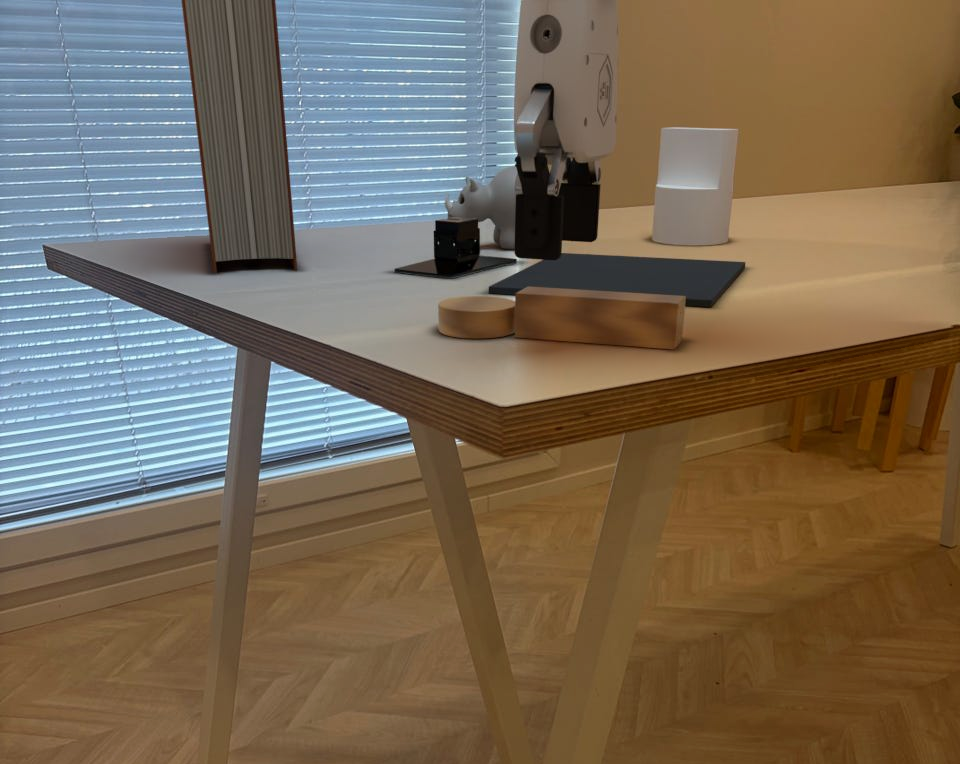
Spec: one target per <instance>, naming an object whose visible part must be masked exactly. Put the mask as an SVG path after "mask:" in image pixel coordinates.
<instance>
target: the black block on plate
mask: <svg viewBox="0 0 960 764" xmlns="http://www.w3.org/2000/svg"><path fill="white" fill-rule="evenodd" d="M517 260H518V259H517V258H511V257H504V256H503V257H501V256H492V255H481V229H480V227H479V222H478V219H474V218H461V217H453V218H448V217H447V218H442V219H436V220H434V230H433V258H432V259H428V260H424V261H419V262H415V263H411V264H408V265H407V264H406V265H404V266H399V267H396V268H394V273H399V274H407V275H416V276H424V277H432V278H433V277H435V278H442V279H454V278H459V277H463V276H467V275H471V274H476V273H479V272H483V271H488V270H491V269H494V268H500V267H502V266H510V265H515V264H517V263H518V261H517Z"/></svg>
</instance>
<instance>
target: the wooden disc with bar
mask: <svg viewBox="0 0 960 764" xmlns="http://www.w3.org/2000/svg"><path fill="white" fill-rule="evenodd" d="M514 296H515V297H514V299H515V300H512V299H509V298H504V297H500V296H499V297H498V296H487V295H485V296H484V295H480V296H479V295H474V296H473V295H471V296H469V295H468V296H458V297H452V298H451V297H450V298H446V299H443V300H441V301H439V302H438V303H437V307H438V308H437V311H438V313H437V314H438V315H437V317H438V331H439V333H440V334H443V335H444V336H448V337H452V338H457V339H459V338H460V339H473V340H474V339H476V340H477V339H479V340H480V339H481V340H482V339H496V338H503V337H507V336H510V335H513V334H514V338H517V339H531V340H545V341H557V342H571V343H582V344H583V343H584V344H595V345H608V346H609V345H610V346H621V347H633V348H634V347H635V348H648V349H659V350H660V349H662V350H673V351H674V350H676V348H677V347H678V346H679V345H680V344H681V342H682V341H683V334H684V322H685V312H686V306H685V301H686V296H677V295H661V294H644V293H628V292H611V291H595V290H578V289H562V288H545V287H529V286H528V287H526V288H524V289H522V290H521V291H519V292H517V293H516V294H515V295H514Z"/></svg>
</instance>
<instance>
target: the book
mask: <svg viewBox="0 0 960 764" xmlns="http://www.w3.org/2000/svg"><path fill="white" fill-rule="evenodd" d="M276 3H277V2H276V0H181V6H182V8H181V9H182V17H183V25H184V33H185V43H186V50H187V58H188V59H187V60H188V66H189V67H188V68H189V75H190V84H191V91H192V100H193V101H192V102H193V109H194V117H195V125H196V126H195V127H196V133H197V142H198V152H199V159H200V166H201V168H200V169H201V175H202V184H203V193H204V201H205V209H206V218H207V226H208V227H207V228H208V235H209V243H210V249H211V257H212V263H213V269H214V274H215V275H218V268H217V262H225V261H226V262H227V261H236V260H239V261H240V260H256V259H260V260H261V259H287V260H289V262H290V264H291V266H292V268H293V269H294V271H298V262H297V261H298V260H297V247H296V236H295V235H296V234H295V225H294V213H293V210H294V209H293V199H292V187H291V176H290V174H291V173H290V163H289V161H290V160H289V151H288V139H287V138H288V137H287V127H286V126H287V125H286V115H285V114H286V113H285V103H284V90H283V79H282V66H281V55H280V54H281V53H280V41H279V29H278V17H277V6H276V5H277V4H276Z"/></svg>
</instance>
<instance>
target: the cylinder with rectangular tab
mask: <svg viewBox="0 0 960 764" xmlns="http://www.w3.org/2000/svg"><path fill="white" fill-rule="evenodd" d="M738 138H739V128H711V127H709V128H708V127H704V128H703V127H678V126H677V127H662V128H660V142H659V153H658V154H659V155H658V169H657V183H656V184H655V188H654V189H655V190H654V191H655V192H654V202H653V203H654V204H653V216H652V217H653V219H652V233H651V241H653V242H654V243H657V244H658V243H659V244H666V245H674V246H714V245H715V246H716V245H723V244H726V243H728V242H729V235H730V224H731V216H732V215H731V214H732V206H733V196H734V177H735V168H736V167H735V166H736V159H737V149H738V140H739V139H738Z"/></svg>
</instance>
